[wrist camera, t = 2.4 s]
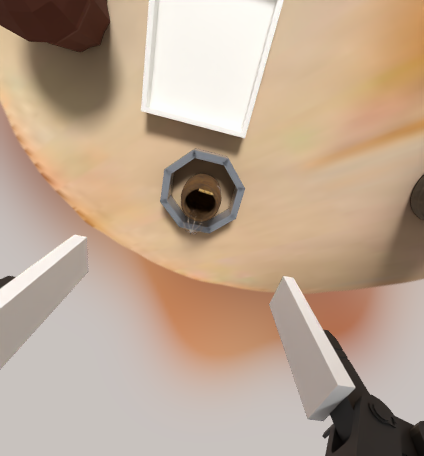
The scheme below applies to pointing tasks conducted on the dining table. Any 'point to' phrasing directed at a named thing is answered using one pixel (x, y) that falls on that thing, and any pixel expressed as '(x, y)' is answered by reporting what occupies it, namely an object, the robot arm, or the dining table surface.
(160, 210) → the dining table surface
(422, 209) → the beer stein
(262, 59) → the tray
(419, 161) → the dining table surface
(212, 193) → the utensil holder
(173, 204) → the grey octagonal ring
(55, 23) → the muffin
